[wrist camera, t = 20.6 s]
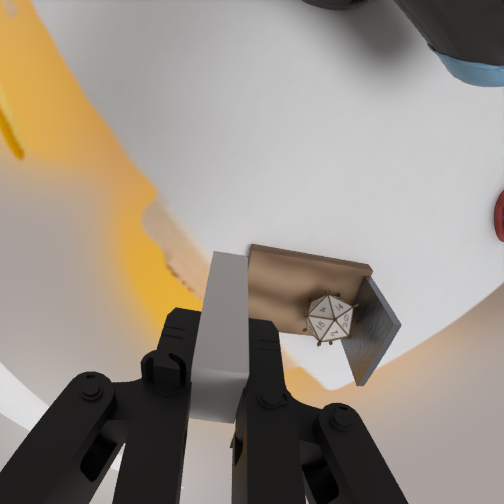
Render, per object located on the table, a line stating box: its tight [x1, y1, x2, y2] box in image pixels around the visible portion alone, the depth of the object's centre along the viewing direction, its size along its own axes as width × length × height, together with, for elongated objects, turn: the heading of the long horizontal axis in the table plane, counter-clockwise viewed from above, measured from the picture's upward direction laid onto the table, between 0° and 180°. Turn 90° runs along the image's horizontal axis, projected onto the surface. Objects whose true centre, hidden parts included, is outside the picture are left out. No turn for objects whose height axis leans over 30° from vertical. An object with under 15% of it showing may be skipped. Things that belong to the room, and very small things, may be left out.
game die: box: [302, 289, 359, 347], centre depth 43 cm, size 9×8×10 cm
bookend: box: [340, 275, 401, 386], centre depth 42 cm, size 12×1×12 cm, turn 169°
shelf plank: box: [248, 244, 373, 336], centre depth 47 cm, size 14×19×2 cm
